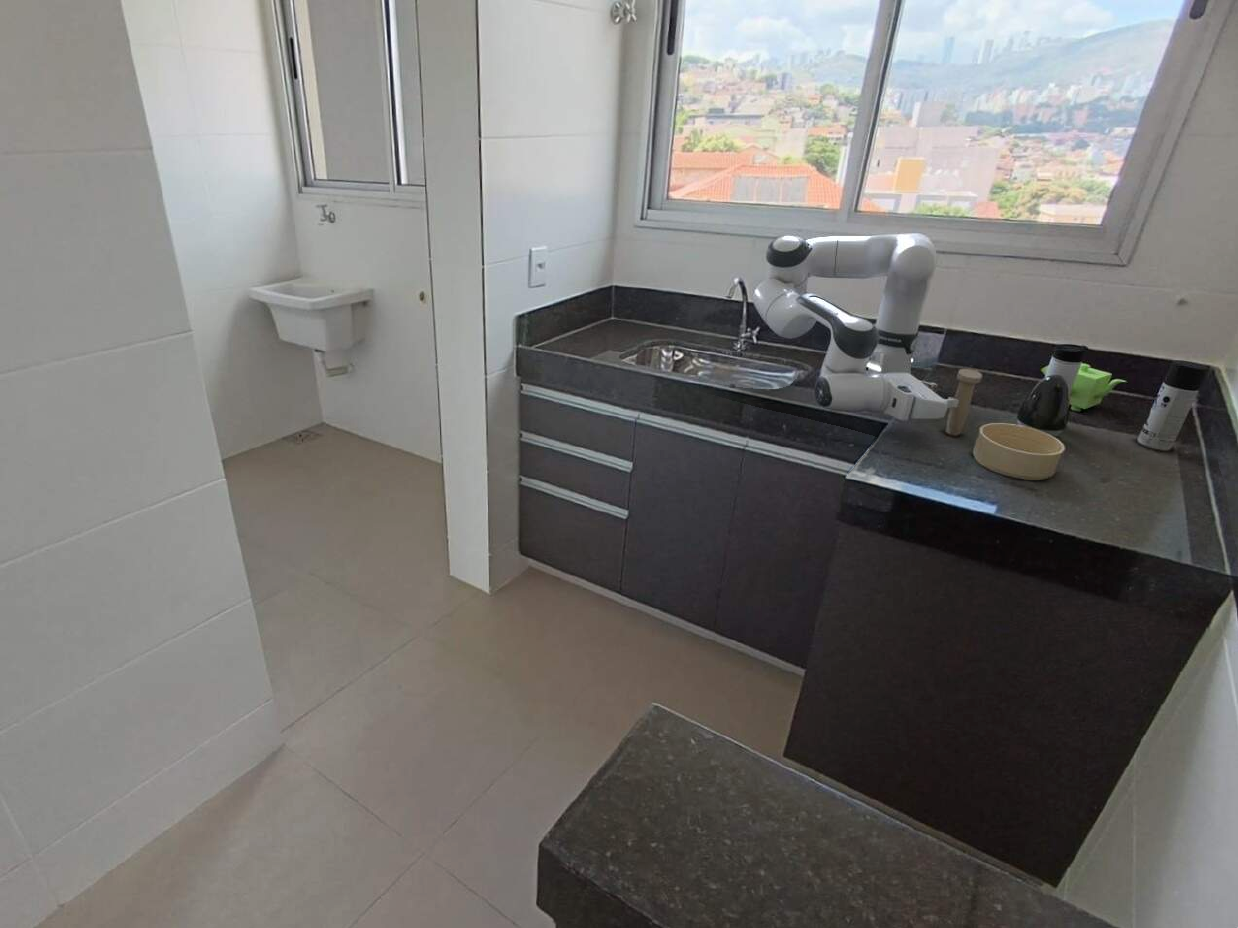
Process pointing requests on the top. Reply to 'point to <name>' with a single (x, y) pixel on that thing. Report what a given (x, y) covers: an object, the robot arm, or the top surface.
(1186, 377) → the spray can
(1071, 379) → the travel mug
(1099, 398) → the kettle
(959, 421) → the handle
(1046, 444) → the bowl
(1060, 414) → the black tapered dome
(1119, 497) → the top surface
